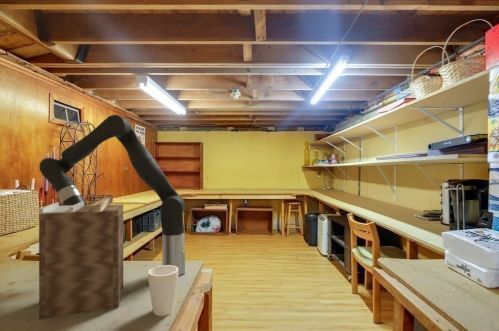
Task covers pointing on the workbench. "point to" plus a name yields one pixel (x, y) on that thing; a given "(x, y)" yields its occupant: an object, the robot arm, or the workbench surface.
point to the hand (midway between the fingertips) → (90, 232)
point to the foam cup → (163, 288)
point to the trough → (60, 208)
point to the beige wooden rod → (102, 204)
